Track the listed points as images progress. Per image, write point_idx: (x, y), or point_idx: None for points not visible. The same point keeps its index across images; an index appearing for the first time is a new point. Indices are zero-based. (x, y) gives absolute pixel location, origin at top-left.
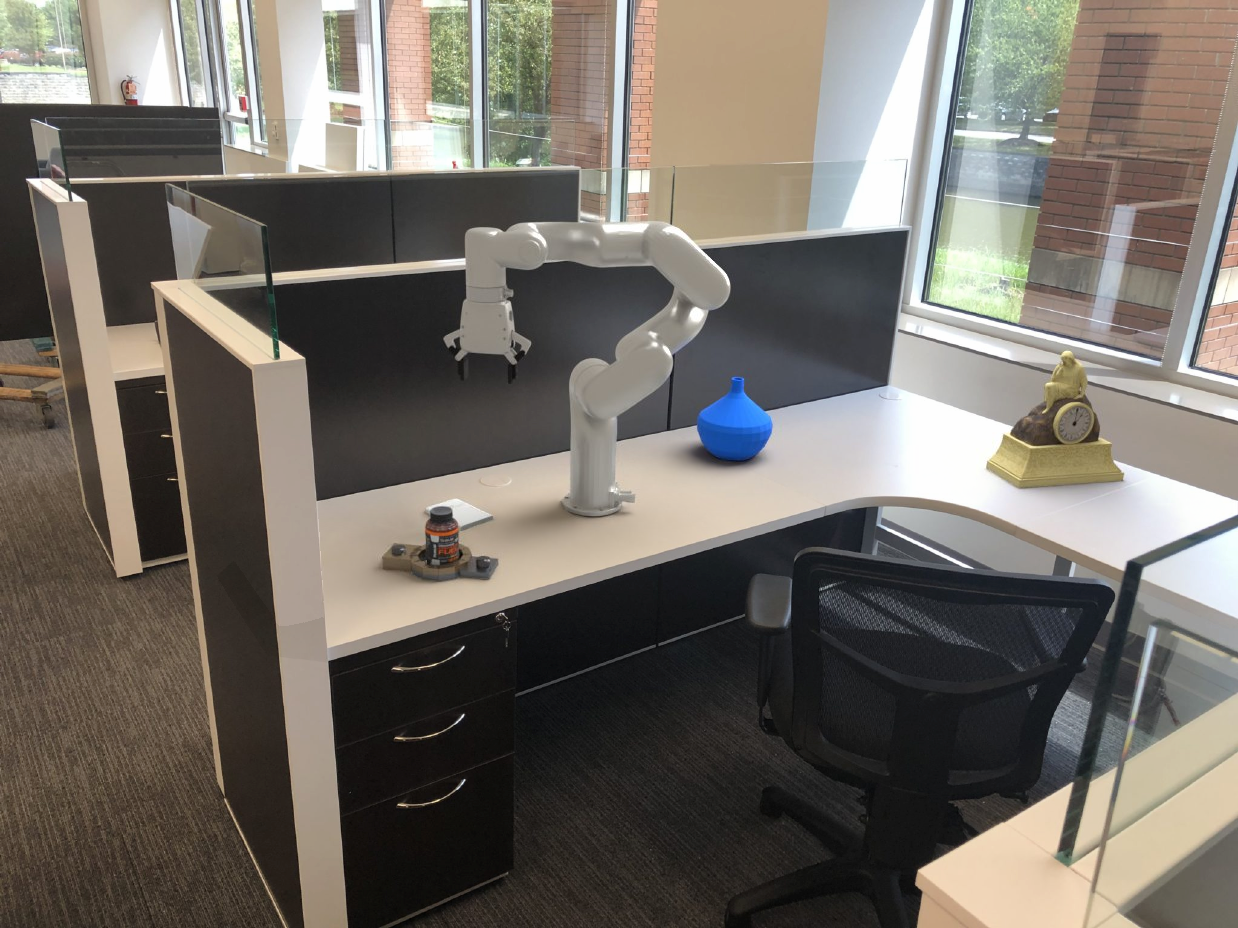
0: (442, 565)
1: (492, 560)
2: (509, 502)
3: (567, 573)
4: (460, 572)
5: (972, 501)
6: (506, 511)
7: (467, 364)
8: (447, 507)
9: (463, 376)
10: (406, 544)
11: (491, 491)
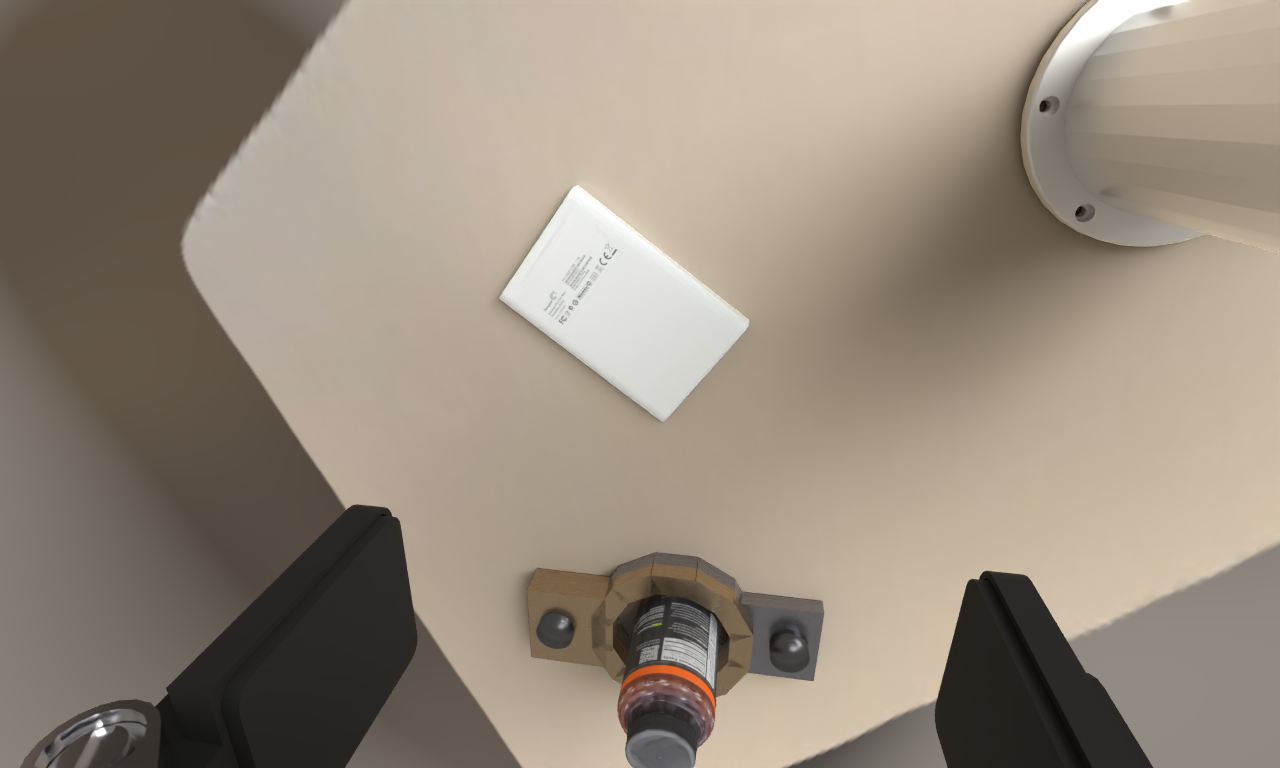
0: None
1: (809, 623)
2: (780, 150)
3: None
4: None
5: None
6: (783, 242)
7: (305, 648)
8: (672, 740)
9: (392, 683)
10: (561, 596)
11: (681, 41)
